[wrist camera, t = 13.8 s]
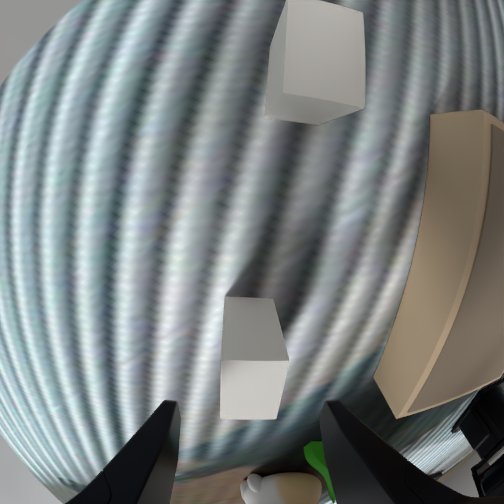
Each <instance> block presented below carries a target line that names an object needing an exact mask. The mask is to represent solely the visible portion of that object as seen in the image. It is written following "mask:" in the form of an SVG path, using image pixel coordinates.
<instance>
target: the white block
mask: <svg viewBox="0 0 504 504" xmlns="http://www.w3.org/2000/svg"><path fill="white" fill-rule="evenodd" d="M362 109H365V36H364V19H363V12H360V11H357V10H354V9H350V8H347V7H343V6H340V5H336V4H332V3H328V2H324V1H320V0H286V2H285V5H284V8H283V11H282V13H281V16H280V19H279V22H278V25H277V28H276V31H275V34H274V37H273V39H272V42H271V45H270V52H269V65H268V78H267V91H266V104H265V117H264V119H274V120H283V121H291V122H299V123H306V124H313V125H320V124H323V123H326V122H328V121H331V120H334V119H336V118H339V117H342V116H345V115H347V114H350V113H353V112H356V111H359V110H362Z"/></svg>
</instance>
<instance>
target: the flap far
mask: <svg viewBox="0 0 504 504" xmlns="http://www.w3.org/2000/svg"><path fill="white" fill-rule="evenodd" d="M288 365H289V357H288V353H287V349H286V345H285V342H284V338H283V334H282V330H281V326H280V322H279V319H278V315H277V311H276V307H275V304H274V300H273V298H249V297H227V296H225V299H224V314H223V331H222V349H221V391H220V419H244V420H260V419H276V417H277V413H278V409H279V405H280V401H281V397H282V392H283V388H284V384H285V379H286V375H287V370H288Z"/></svg>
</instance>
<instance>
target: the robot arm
mask: <svg viewBox="0 0 504 504" xmlns="http://www.w3.org/2000/svg"><path fill="white" fill-rule="evenodd" d="M503 389H504V379H503V380H501V381H499V382H497V383H495V384H494V385H492V386H490V387H488V388H486V389H484V390H482V391H481V392H479V393H478V395H477V396H476V398H475V399H474V401H473V402H472V403H471V405H470V406H469V408H468V409H467V410H466V412H465V413H464V414H463V416H462V417H461V418H460V420H459V421H458V422H457V424H456V425H455V426H454V427H453V429H452V430H451V432H452V434H453V433H456V432H458V431H460V430H461V431H462V433H463V434H464V436H465V437H466V439H467V440H468V442H469V443H470V445H471V447H472V448H473V450H476V451H477V453H478V454H479V456H480V458H481V459H482V460H481V461H480V462H479V463H478V464H476V465H475V466H473V467H472V468H471V471H472V476H473V479H474V482H475V485H476V488H477V491H478V494H479V497H469V496H464V495H462V494H460V493H458V492H456V491H454V490H452V489H450V488H449V487H447V486H445V485H443V484H442V483H440V482H438V481H436V480H435V479H433V478H432V477H430V476H428V475H427V474H425V473H424V472H423V471H421V470H420V469H419V468H417V467H416V466H415V465H413V464H412V463H411V462H410V461H407V459H406V458H405V457H403V456H402V455H401V454H400V453H399V452H397V451H396V450H395V449H394V448H393V447H391V446H390V445H389V444H388V443H387V442H385V441H384V440H383V439H382V438H381V437H380V436H378V435H377V434H376V433H375V432H374V431H373V430H371V429H370V428H369V427H368V426H367V425H366V424H365V423H363V422H362V421H361V420H360V419H359V418H358V417H357V416H356V415H354V414H353V413H352V412H351V411H350V410H349V409H348V408H347V407H346V406H344V405H343V404H342V403H341V402H340V401H339V400H327V401H326V402H325V403H324V405H323V408H322V410H321V413H320V416H319V423H320V430H321V437H322V444H323V451H324V458H325V462H326V466H327V469H328V473H329V477H330V480H331V484H332V488H333V491H334V495H335V499H336V502H337V504H504V454H503V455H502V456H501V457H500V458H499V459H497V460H496V461H495V462H494V463H493V464H492V465H491V466H490V465H489V463H490V462H491V461H492V460H493V459H494V458H495V457H496V456H498V455H499V454H500V453H501V452H502V451H503V450H504V390H503ZM180 423H181V417H180V411H179V406H178V402H177V401H173V400H164V401H163V402H162V403H161V404H160V406H159V407H158V408H157V409H156V410H155V411H154V413H153V414H152V415H151V416H150V417H149V418H148V419H147V421H146V422H145V423H144V424H143V425H142V426H141V427H140V429H139V430H138V431H137V432H136V433H135V434H134V435H133V437H132V438H131V439H130V440H129V441H128V442H127V443H126V444H125V446H124V447H123V448H122V449H121V450H120V451H119V452H118V453H117V454H116V456H115V457H114V458H113V459H112V460H111V461H110V462H109V463H108V464H107V465H106V467H105V468H104V469H103V471H101V472H100V473H99V474H98V475H97V476H96V477H95V478H94V479H93V480H92V481H91V482H90V483H89V484H88V485H87V486H86V487H85V488H84V489H83V490H82V491H80V492H79V493H78V494H77V495H76V496H74V497H73V498H72V499H70V500H69V501H68V502H66V503H65V504H170V498H171V493H172V488H173V483H174V478H175V473H176V468H177V462H178V452H179V437H180ZM483 458H484V459H483Z"/></svg>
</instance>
